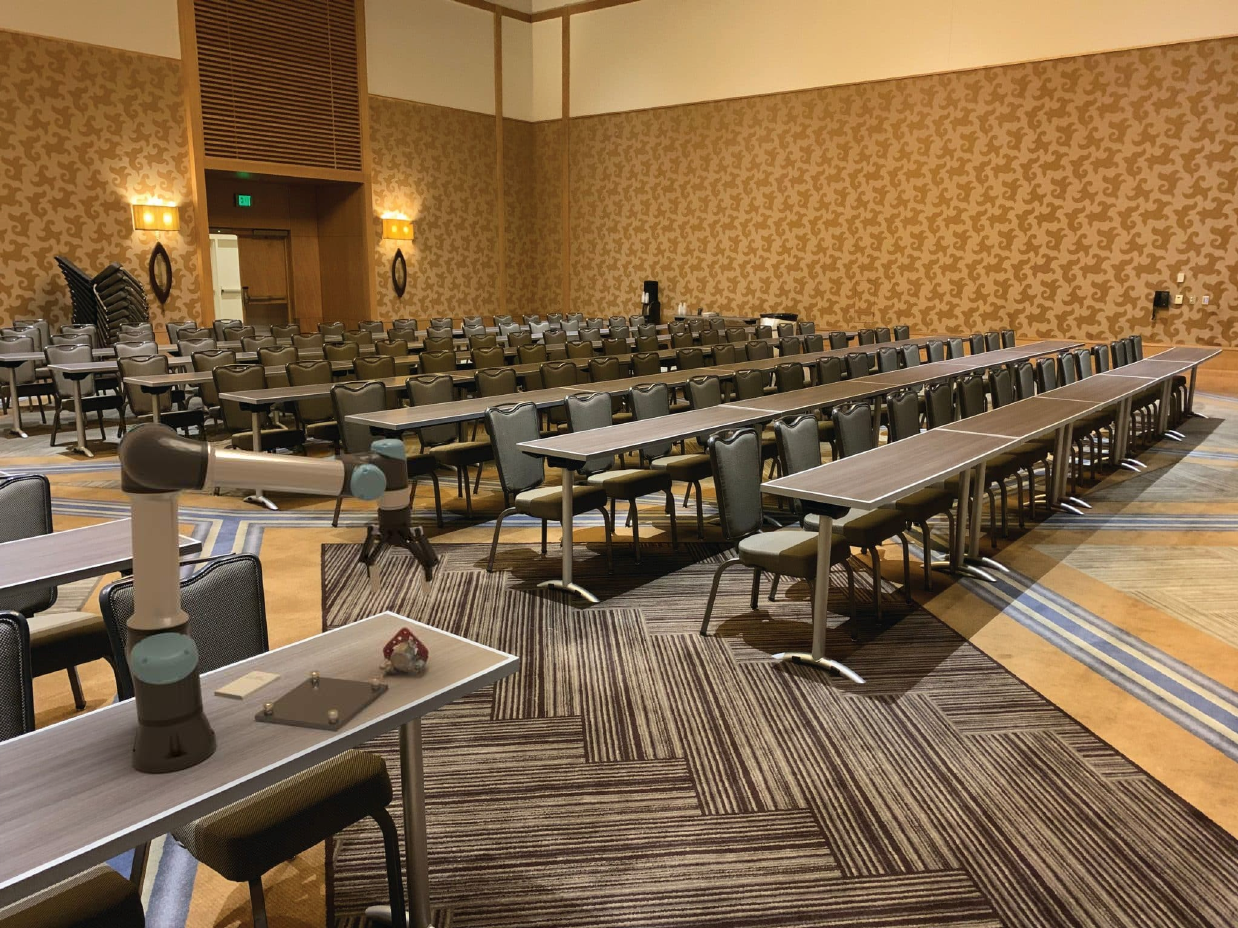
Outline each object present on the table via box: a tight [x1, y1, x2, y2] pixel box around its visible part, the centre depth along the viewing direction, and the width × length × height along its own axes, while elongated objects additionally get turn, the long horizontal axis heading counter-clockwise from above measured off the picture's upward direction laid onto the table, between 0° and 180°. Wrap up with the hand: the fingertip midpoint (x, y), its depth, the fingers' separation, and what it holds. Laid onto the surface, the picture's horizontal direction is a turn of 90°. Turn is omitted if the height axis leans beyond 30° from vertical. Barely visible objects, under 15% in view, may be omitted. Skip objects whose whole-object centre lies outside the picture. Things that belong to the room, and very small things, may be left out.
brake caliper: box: [379, 626, 430, 680], centre depth 218 cm, size 11×11×12 cm
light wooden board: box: [213, 670, 281, 701], centre depth 212 cm, size 2×8×12 cm
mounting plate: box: [254, 670, 389, 732], centre depth 202 cm, size 20×21×3 cm
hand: (401, 592), depth 216 cm, fingers open, 13 cm apart
